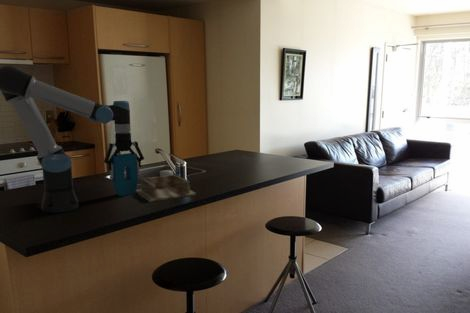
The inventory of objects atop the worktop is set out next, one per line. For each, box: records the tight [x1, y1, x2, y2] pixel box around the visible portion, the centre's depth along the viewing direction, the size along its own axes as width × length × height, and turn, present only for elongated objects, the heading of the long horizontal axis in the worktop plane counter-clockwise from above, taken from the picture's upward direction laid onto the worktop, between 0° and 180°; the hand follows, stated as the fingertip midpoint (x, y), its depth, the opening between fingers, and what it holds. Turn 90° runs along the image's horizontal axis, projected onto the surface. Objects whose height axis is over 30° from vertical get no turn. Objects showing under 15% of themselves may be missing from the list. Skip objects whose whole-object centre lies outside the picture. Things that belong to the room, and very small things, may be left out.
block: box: [110, 152, 139, 197], centre depth 200 cm, size 12×5×20 cm, turn 133°
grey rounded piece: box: [159, 169, 174, 177], centre depth 218 cm, size 7×7×8 cm
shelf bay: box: [135, 174, 197, 203], centre depth 201 cm, size 24×22×7 cm
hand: (125, 175), depth 200 cm, fingers closed on block, 12 cm apart
